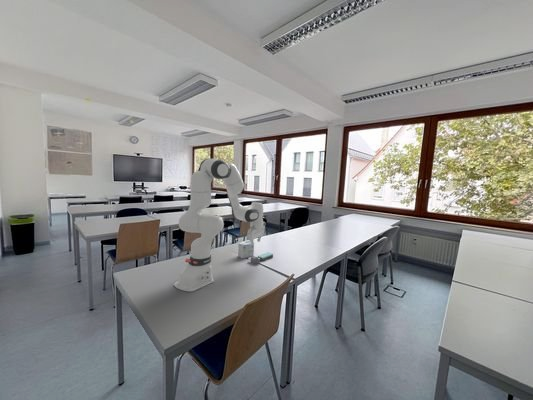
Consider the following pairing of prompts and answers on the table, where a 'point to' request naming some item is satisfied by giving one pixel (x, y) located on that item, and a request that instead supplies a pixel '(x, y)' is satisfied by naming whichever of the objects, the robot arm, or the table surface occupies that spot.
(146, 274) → the table surface
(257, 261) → the dongle
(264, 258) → the eraser
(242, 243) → the light bulb box
